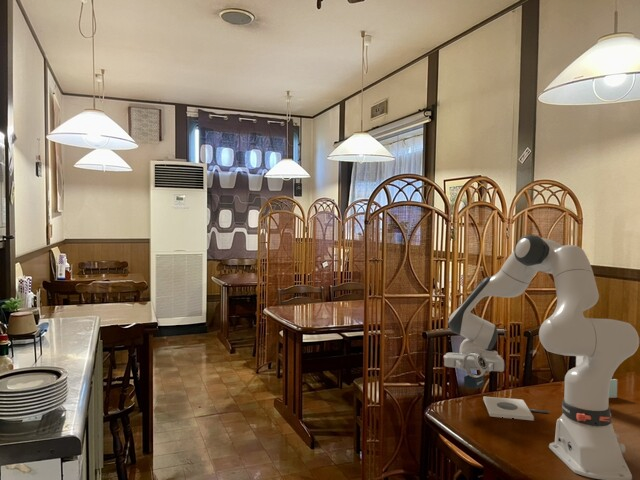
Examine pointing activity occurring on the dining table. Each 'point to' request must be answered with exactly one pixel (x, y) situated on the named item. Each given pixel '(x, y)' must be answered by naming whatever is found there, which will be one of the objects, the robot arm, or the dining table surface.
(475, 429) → the dining table surface
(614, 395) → the right angle wall
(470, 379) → the watch
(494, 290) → the robot arm
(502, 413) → the charging pad
